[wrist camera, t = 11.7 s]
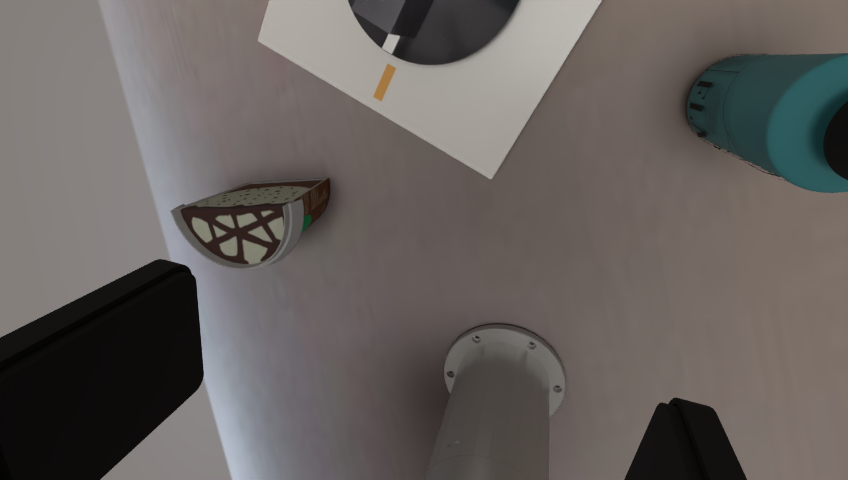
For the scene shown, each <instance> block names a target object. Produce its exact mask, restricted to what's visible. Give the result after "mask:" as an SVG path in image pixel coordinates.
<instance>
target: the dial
mask: <svg viewBox="0 0 848 480" xmlns="http://www.w3.org/2000/svg"><path fill="white" fill-rule="evenodd" d="M348 2H349V5H350V7H351V10H352V11H353V14H354V16H355V18H356V19H357V21H358V23H359V24H360V26H361V27H362V29H363V30H364V31H365V32H366V34H367V35H368V36H369V37H370V38H371V39H372V40H373V41H374V42H375V43H376V44H377V45H378V46H379V47H381V48H382V49H383V50H385V51H386V52H387V53H389V54H391V55H393V56H395V57H397V58H399V59H401V60H404V61H407V62H410V63H415V64H420V65H443V64H450V63H454V62H458V61H461V60H464V59H466V58H469V57H471V56H472V55H474V54H476V53H478V52H480V51H481V50H482V49H484V48H485V47H487V46H488V45H489V44H490V43H491V42H493V41H494V40H495V39H496V38H497V37H498V36H499V35H500V34H501V32H502V31H503V30H504V29H505V28H506V26H507V25H508V24H509V22H510V21H511V19H512V17H513V16H514V14H515V12H516V10H517V8H518V6H519V5H520V3H521V0H348Z"/></svg>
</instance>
